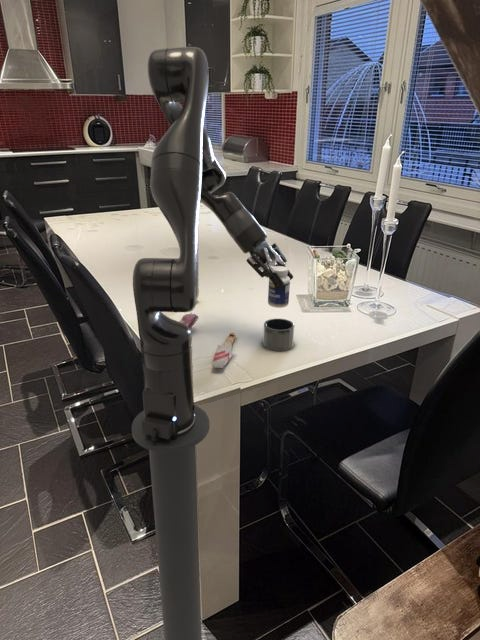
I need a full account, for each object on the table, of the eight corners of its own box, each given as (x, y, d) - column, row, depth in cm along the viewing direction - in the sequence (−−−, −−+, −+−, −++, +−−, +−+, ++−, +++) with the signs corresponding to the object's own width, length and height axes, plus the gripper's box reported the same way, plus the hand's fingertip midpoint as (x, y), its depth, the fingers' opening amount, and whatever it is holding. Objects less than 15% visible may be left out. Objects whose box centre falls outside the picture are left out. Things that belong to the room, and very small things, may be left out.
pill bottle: (264, 305, 120) (265, 269, 116) (272, 299, 124) (274, 264, 121) (283, 309, 118) (285, 272, 114) (291, 302, 122) (293, 267, 118)
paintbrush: (208, 361, 110) (226, 330, 129) (208, 371, 111) (226, 339, 130) (224, 362, 110) (239, 331, 128) (224, 372, 111) (239, 340, 129)
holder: (289, 353, 122) (290, 332, 119) (259, 348, 124) (260, 328, 121) (295, 340, 129) (297, 320, 126) (267, 336, 131) (268, 316, 128)
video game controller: (178, 345, 128) (187, 326, 125) (164, 336, 129) (174, 317, 125) (194, 332, 137) (203, 313, 133) (181, 323, 137) (190, 305, 134)
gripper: (241, 226, 110) (285, 282, 110) (267, 216, 122) (306, 267, 122) (221, 245, 115) (264, 299, 114) (248, 234, 126) (286, 283, 126)
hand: (285, 282), depth 118 cm, fingers closed on pill bottle, 5 cm apart
